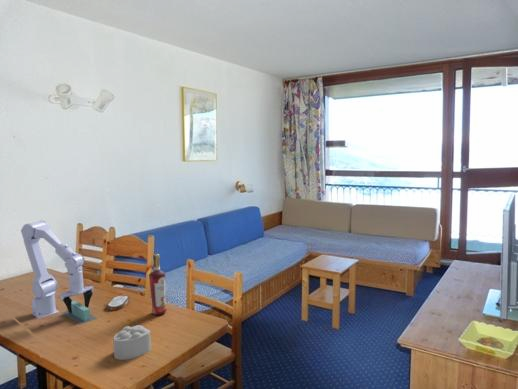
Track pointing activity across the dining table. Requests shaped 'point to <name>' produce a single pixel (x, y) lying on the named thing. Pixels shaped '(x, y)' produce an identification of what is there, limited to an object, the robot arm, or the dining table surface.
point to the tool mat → (77, 317)
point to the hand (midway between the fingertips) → (78, 309)
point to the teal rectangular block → (80, 311)
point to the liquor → (157, 288)
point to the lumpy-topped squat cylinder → (131, 342)
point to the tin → (118, 303)
